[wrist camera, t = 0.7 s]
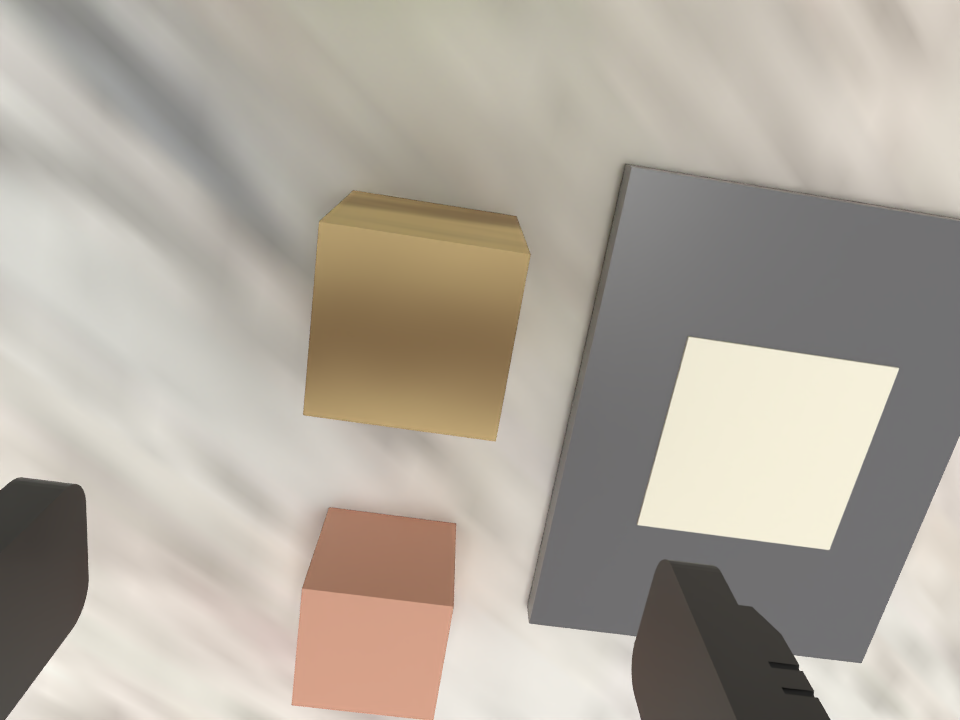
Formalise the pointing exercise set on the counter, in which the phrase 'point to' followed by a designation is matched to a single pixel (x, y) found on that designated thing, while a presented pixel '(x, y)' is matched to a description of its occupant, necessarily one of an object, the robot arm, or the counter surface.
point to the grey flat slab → (756, 408)
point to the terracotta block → (376, 615)
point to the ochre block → (414, 315)
